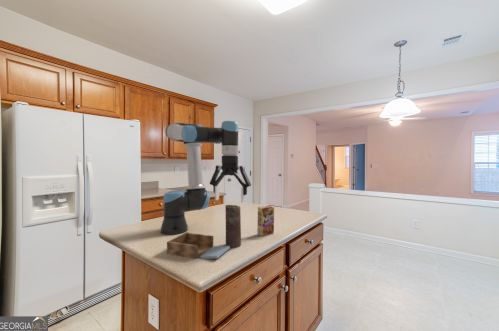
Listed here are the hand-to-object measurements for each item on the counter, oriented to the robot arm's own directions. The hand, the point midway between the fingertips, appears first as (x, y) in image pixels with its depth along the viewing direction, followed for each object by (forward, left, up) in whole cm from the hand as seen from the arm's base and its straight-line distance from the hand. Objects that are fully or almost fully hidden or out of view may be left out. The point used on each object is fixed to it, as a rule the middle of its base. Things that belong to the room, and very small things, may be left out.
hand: (229, 200), depth 107 cm
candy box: (+10, +27, -23) cm, 36 cm away
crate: (-14, -9, -23) cm, 28 cm away
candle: (+1, +3, -23) cm, 23 cm away
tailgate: (-7, -9, -22) cm, 24 cm away
